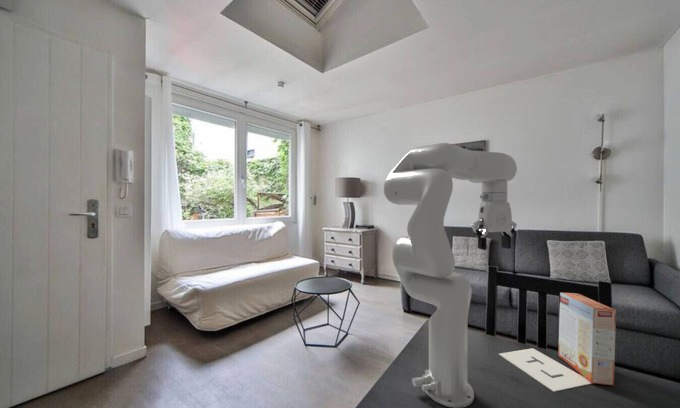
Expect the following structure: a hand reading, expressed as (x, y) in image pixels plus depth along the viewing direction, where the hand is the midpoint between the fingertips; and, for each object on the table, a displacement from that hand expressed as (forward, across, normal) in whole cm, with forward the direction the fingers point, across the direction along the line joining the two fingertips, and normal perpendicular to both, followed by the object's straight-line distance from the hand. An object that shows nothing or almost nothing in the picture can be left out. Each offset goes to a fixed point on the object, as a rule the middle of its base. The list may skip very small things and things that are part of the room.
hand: (494, 248), depth 91 cm
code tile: (+34, +6, -12) cm, 37 cm away
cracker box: (+34, +17, -16) cm, 42 cm away
